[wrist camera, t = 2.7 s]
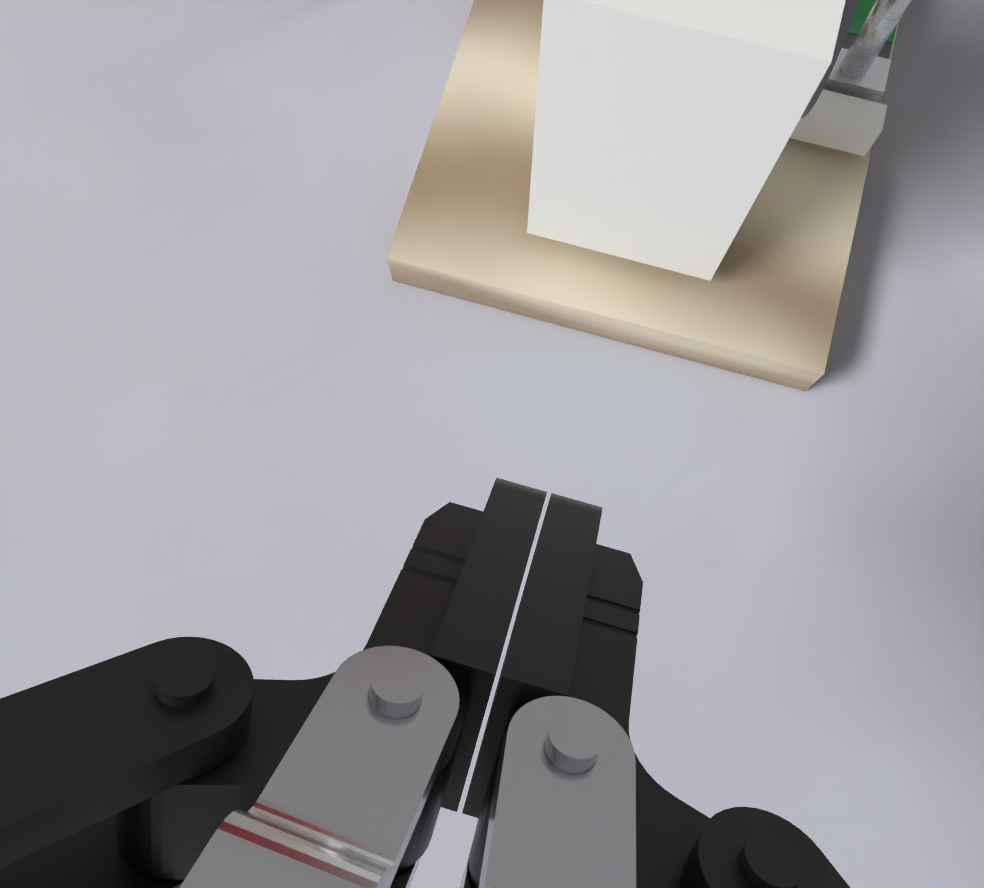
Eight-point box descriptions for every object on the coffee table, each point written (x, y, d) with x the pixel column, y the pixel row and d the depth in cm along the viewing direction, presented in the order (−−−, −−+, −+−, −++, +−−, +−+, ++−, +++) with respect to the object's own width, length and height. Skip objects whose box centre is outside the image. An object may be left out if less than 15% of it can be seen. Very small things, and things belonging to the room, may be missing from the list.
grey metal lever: (863, 123, 25) (942, 6, 21) (799, 106, 25) (863, -13, 21) (870, 92, 26) (950, -30, 21) (806, 76, 26) (871, -49, 21)
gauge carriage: (830, 312, 24) (1022, 107, 15) (526, 232, 25) (544, -9, 16) (882, 69, 26) (1082, -240, 17) (597, 0, 26) (648, -333, 18)
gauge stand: (805, 390, 26) (826, 371, 24) (392, 280, 26) (385, 254, 25) (911, -100, 29) (936, -146, 28) (548, -183, 30) (551, -232, 29)
